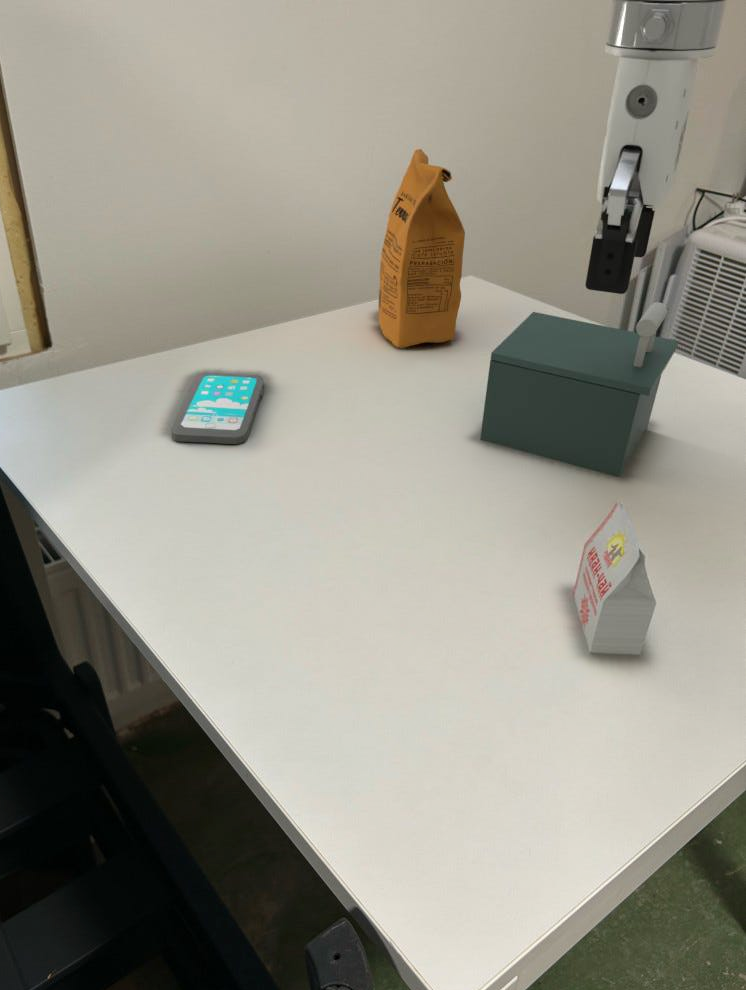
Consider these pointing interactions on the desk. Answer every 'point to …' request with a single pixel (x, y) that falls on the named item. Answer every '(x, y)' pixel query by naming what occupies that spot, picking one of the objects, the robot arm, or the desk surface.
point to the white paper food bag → (614, 588)
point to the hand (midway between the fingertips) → (616, 271)
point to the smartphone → (218, 408)
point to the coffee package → (421, 259)
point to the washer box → (564, 417)
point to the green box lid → (592, 350)
